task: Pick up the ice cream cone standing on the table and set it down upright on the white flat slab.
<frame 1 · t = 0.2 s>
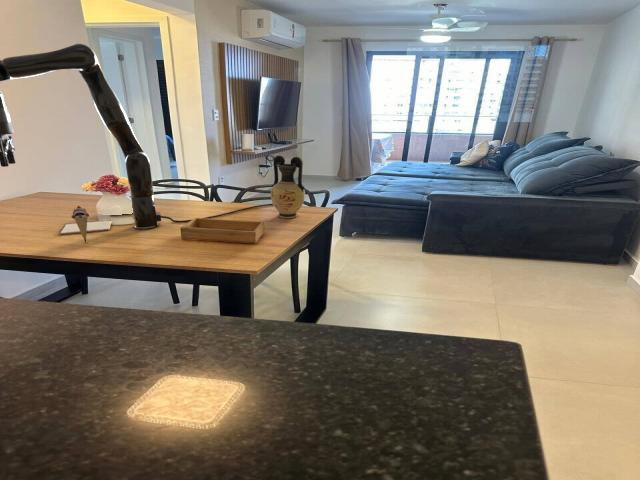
hand: (8, 165, 145), 29 cm above the table, tool pointing down, fingers open, 8 cm apart
amphora: (287, 216, 194), on the table
ice cream cone: (85, 243, 150), on the table
white flat slab: (87, 227, 169), on the table
tray: (224, 237, 160), on the table
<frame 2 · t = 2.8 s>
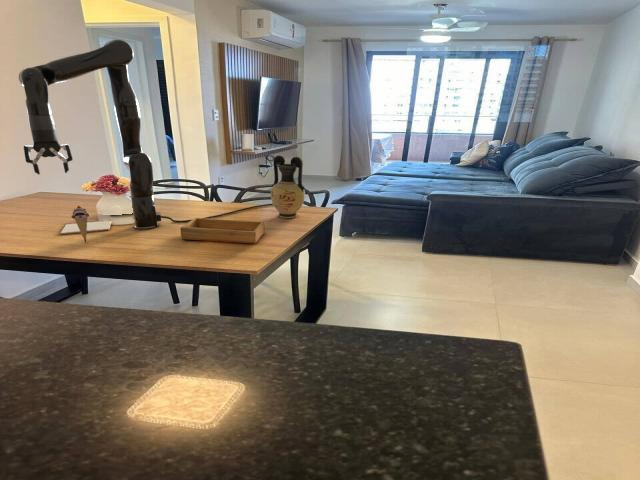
hand: (52, 173, 143), 27 cm above the table, tool pointing down, fingers open, 8 cm apart
nothing on the table moved.
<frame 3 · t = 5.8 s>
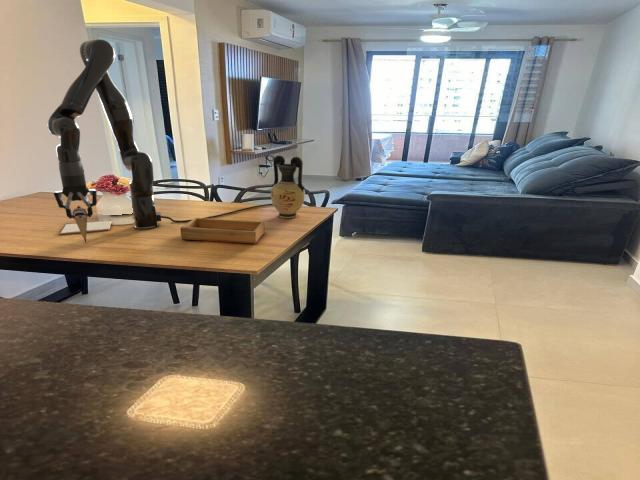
hand: (80, 217, 146), 11 cm above the table, tool pointing down, fingers closed on ice cream cone, 5 cm apart
ice cream cone: (85, 243, 150), on the table, touching gripper
everything else where it was.
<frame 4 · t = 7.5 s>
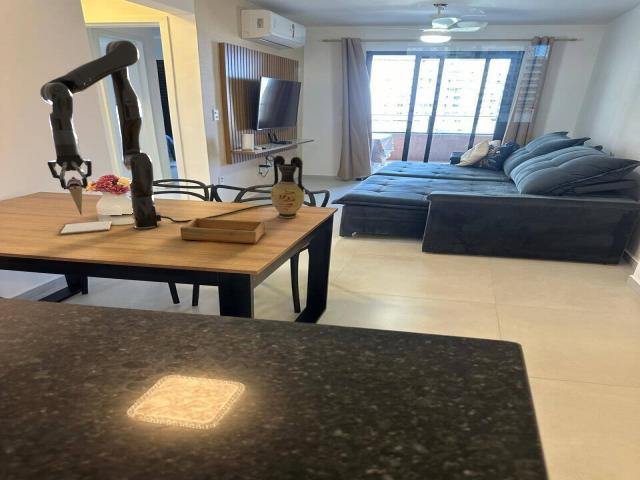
hand: (75, 188, 143), 22 cm above the table, tool pointing down, fingers closed on ice cream cone, 5 cm apart
ice cream cone: (81, 216, 146), point 11 cm above the table, touching gripper
everything else where it was.
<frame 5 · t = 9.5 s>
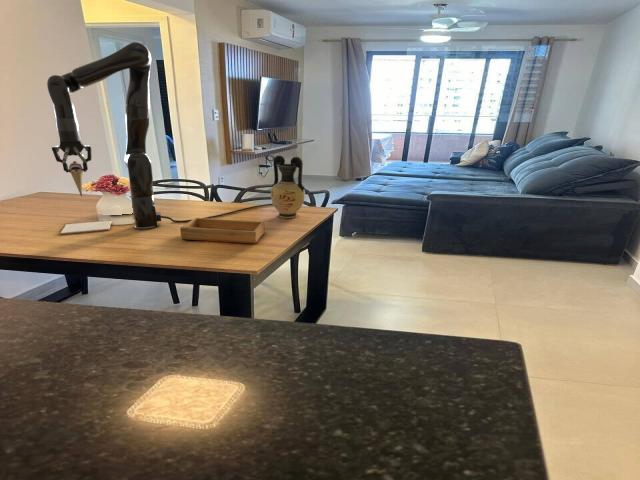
hand: (76, 171, 158), 25 cm above the table, tool pointing down, fingers closed on ice cream cone, 5 cm apart
ice cream cone: (81, 197, 161), point 14 cm above the table, touching gripper
everything else where it was.
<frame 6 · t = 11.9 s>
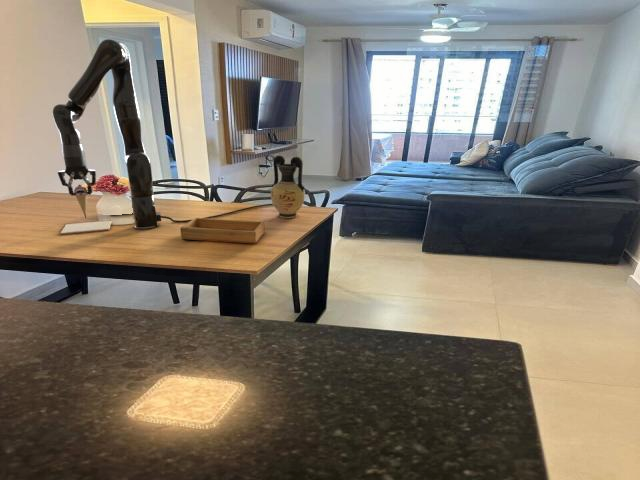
hand: (81, 194, 164), 15 cm above the table, tool pointing down, fingers closed on ice cream cone, 5 cm apart
ice cream cone: (85, 218, 167), point 4 cm above the table, touching gripper
everything else where it was.
when the fingers open (11 cm above the table, at t = 13.4 s): ice cream cone stays where it is, resting on white flat slab.
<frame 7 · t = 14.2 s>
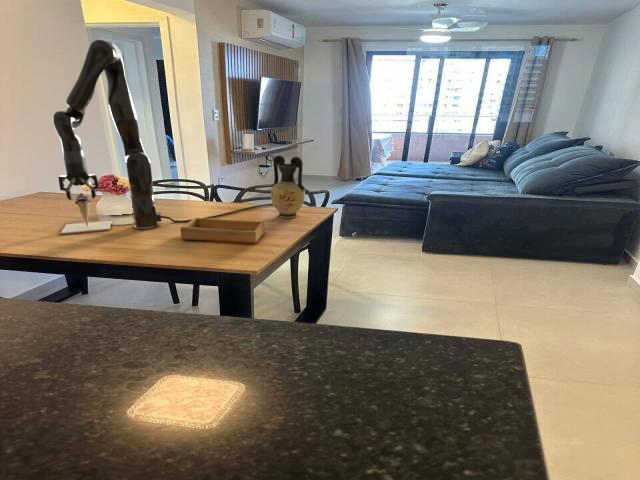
hand: (82, 199, 165), 13 cm above the table, tool pointing down, fingers open, 8 cm apart
ice cream cone: (87, 226, 169), resting on white flat slab
everything else where it was.
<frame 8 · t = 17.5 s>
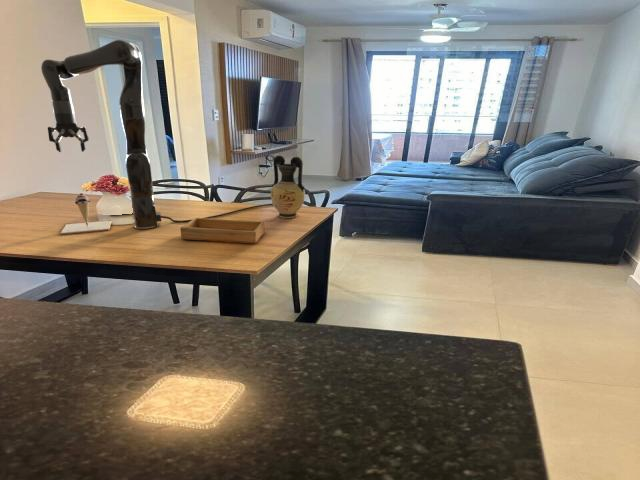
hand: (71, 151, 165), 32 cm above the table, tool pointing down, fingers open, 8 cm apart
nothing on the table moved.
at the end: ice cream cone inside the target area on the white flat slab (0.1 cm from its centre), point 0.3 cm above the white flat slab's base; the gripper is holding nothing; ice cream cone tilted 0° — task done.
